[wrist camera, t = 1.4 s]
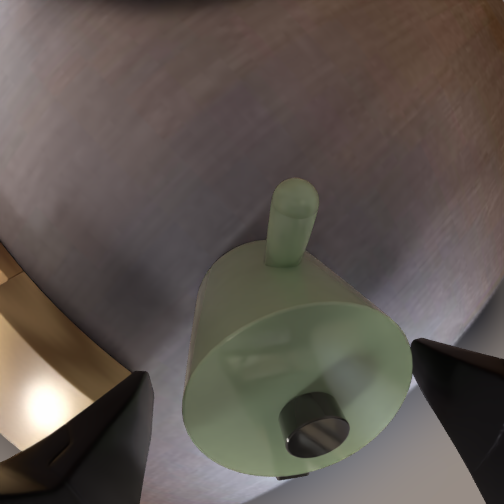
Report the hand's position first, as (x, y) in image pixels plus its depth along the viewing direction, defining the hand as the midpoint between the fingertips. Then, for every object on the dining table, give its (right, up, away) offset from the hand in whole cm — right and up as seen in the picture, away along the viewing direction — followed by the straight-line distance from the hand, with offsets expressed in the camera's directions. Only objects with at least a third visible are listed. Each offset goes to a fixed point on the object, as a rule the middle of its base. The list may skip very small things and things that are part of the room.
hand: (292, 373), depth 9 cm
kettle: (-1, +1, +5) cm, 5 cm away
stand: (-16, -1, +3) cm, 17 cm away
